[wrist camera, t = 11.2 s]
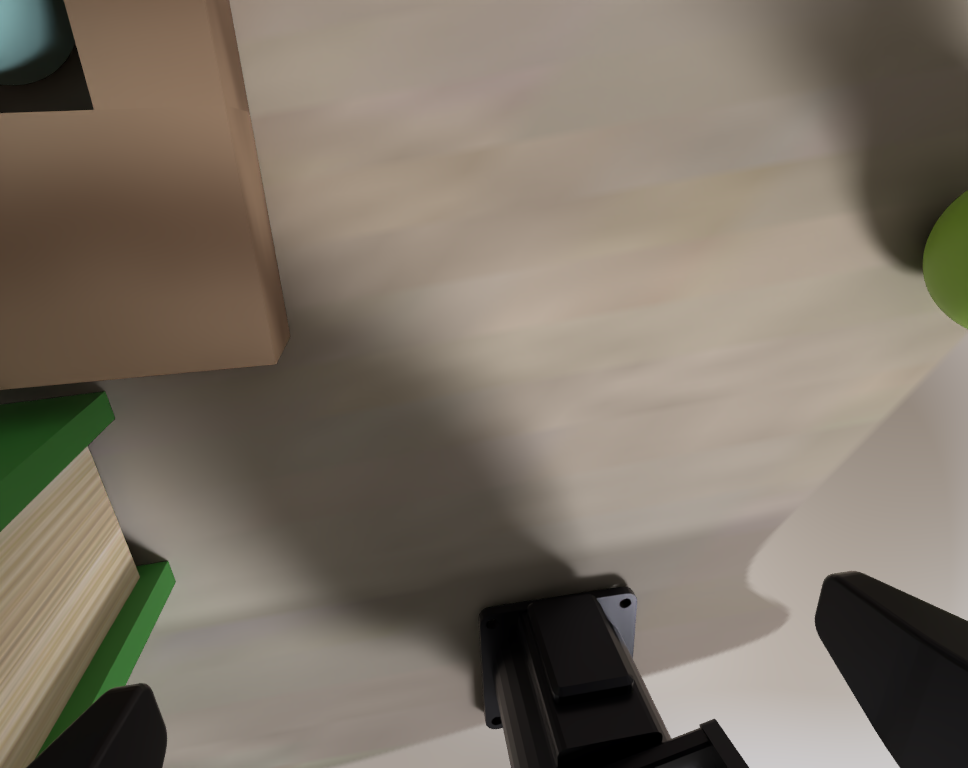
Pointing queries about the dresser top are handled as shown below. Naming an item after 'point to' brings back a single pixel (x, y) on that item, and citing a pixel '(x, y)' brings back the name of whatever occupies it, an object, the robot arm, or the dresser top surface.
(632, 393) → the dresser top surface
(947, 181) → the dresser top surface
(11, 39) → the teal peg
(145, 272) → the rail
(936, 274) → the snail figurine
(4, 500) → the hardback book
